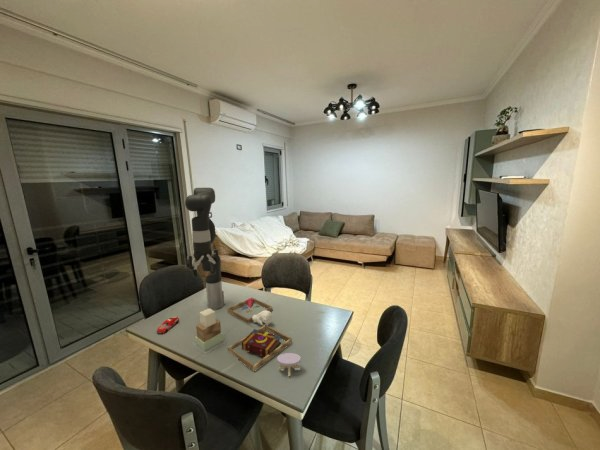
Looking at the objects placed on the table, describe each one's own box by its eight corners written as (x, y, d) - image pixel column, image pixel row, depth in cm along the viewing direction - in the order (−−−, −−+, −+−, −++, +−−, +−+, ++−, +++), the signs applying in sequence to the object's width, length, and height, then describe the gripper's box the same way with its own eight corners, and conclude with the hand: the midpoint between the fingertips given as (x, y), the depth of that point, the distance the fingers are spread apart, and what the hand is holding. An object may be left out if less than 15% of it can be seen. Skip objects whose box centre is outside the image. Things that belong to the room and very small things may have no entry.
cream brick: (210, 319, 120) (209, 308, 118) (215, 323, 116) (215, 311, 115) (200, 324, 116) (199, 312, 115) (206, 327, 113) (205, 315, 112)
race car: (163, 335, 126) (162, 328, 125) (154, 334, 127) (153, 327, 126) (181, 321, 138) (180, 315, 137) (173, 320, 139) (172, 314, 139)
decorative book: (269, 359, 107) (269, 349, 106) (239, 350, 113) (238, 340, 112) (281, 344, 118) (281, 334, 117) (252, 336, 124) (252, 327, 123)
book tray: (265, 328, 130) (265, 324, 130) (291, 343, 119) (291, 338, 118) (227, 352, 112) (227, 347, 112) (254, 372, 101) (253, 366, 100)
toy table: (274, 376, 98) (274, 364, 97) (280, 360, 107) (280, 349, 106) (298, 379, 97) (298, 367, 96) (302, 363, 106) (302, 351, 105)
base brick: (214, 334, 124) (214, 327, 123) (223, 340, 119) (223, 333, 118) (195, 344, 117) (195, 336, 116) (204, 351, 112) (203, 343, 111)
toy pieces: (238, 306, 155) (238, 300, 154) (254, 301, 161) (254, 295, 160) (244, 315, 145) (244, 308, 144) (262, 309, 151) (262, 303, 150)
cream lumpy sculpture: (266, 314, 128) (248, 311, 133) (268, 329, 129) (250, 326, 135) (272, 309, 134) (255, 306, 139) (274, 323, 135) (256, 320, 140)
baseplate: (214, 333, 126) (214, 331, 126) (227, 343, 119) (227, 341, 119) (191, 345, 117) (191, 343, 117) (204, 356, 110) (204, 354, 110)
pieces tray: (251, 300, 161) (251, 297, 161) (272, 310, 149) (272, 306, 148) (227, 312, 147) (227, 308, 147) (248, 324, 135) (248, 320, 134)
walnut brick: (214, 328, 122) (213, 317, 121) (220, 332, 119) (220, 321, 118) (197, 337, 116) (196, 325, 114) (203, 342, 112) (202, 330, 111)
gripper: (190, 244, 101) (193, 281, 104) (220, 238, 112) (222, 271, 115) (181, 241, 106) (185, 276, 109) (211, 235, 117) (213, 268, 119)
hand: (204, 274), depth 112 cm, fingers open, 8 cm apart
